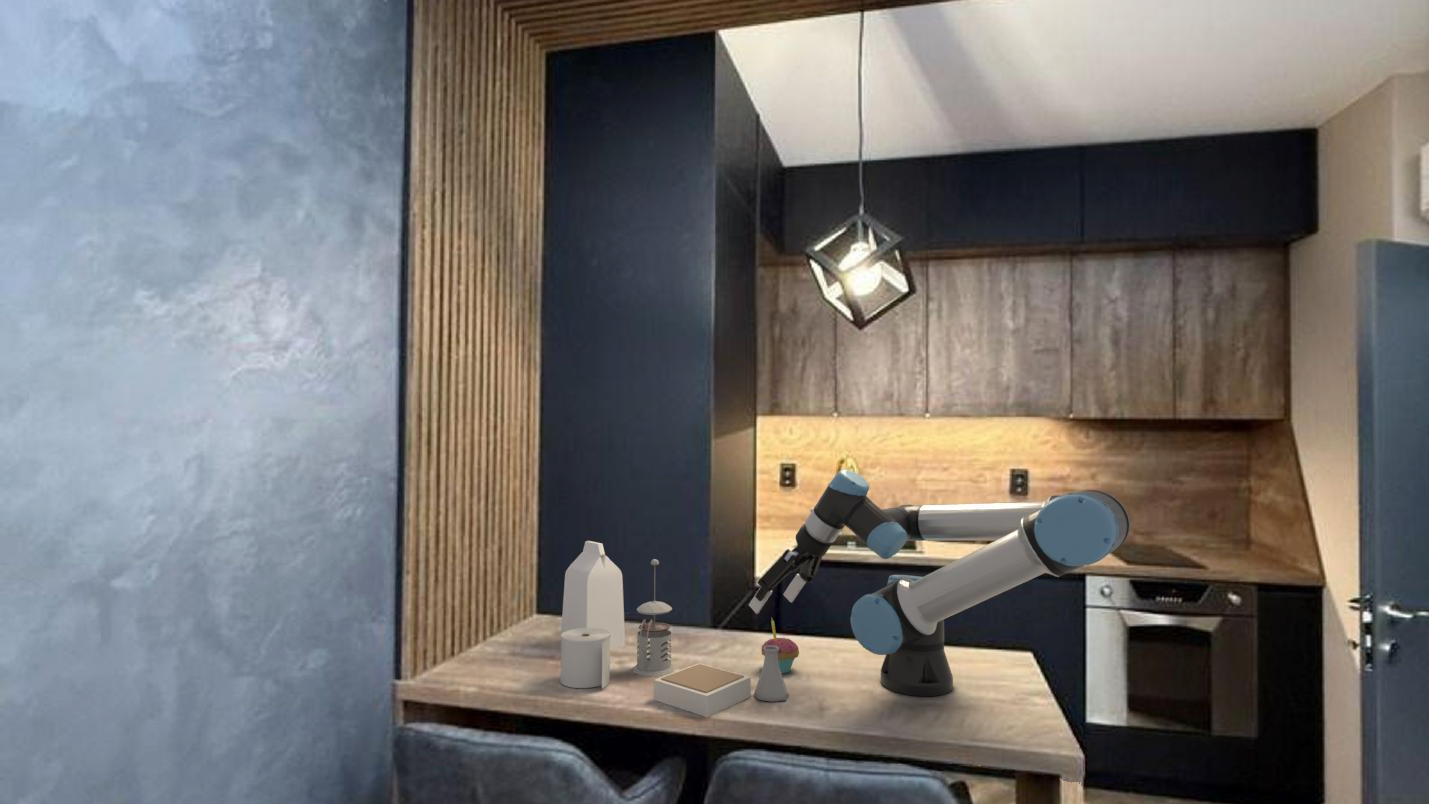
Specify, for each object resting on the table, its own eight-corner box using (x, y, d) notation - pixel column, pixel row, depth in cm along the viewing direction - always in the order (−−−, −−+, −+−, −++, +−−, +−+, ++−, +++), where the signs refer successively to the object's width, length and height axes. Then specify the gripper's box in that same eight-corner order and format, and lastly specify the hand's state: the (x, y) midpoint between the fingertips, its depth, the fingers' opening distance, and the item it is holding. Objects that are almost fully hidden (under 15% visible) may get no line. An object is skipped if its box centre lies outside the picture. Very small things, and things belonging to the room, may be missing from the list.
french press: (681, 664, 172) (681, 556, 173) (664, 680, 161) (665, 565, 162) (641, 660, 174) (642, 554, 175) (622, 676, 163) (623, 563, 164)
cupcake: (768, 677, 163) (768, 622, 163) (756, 665, 171) (756, 613, 172) (804, 674, 165) (804, 620, 166) (790, 662, 173) (790, 611, 174)
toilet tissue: (576, 670, 168) (577, 625, 168) (623, 676, 163) (624, 630, 164) (550, 685, 158) (551, 638, 158) (600, 692, 153) (600, 643, 154)
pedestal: (750, 696, 151) (750, 675, 151) (706, 717, 140) (707, 694, 140) (698, 681, 160) (699, 661, 160) (654, 699, 149) (654, 678, 149)
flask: (790, 703, 148) (790, 653, 148) (754, 702, 148) (754, 652, 148) (787, 690, 155) (787, 642, 155) (752, 690, 155) (753, 642, 156)
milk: (560, 644, 187) (561, 541, 188) (598, 636, 195) (599, 537, 196) (586, 655, 178) (587, 547, 179) (625, 646, 186) (626, 543, 187)
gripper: (835, 516, 172) (790, 583, 179) (774, 526, 153) (726, 601, 160) (858, 537, 168) (811, 605, 175) (799, 551, 149) (749, 626, 156)
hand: (771, 603), depth 167 cm, fingers open, 13 cm apart
